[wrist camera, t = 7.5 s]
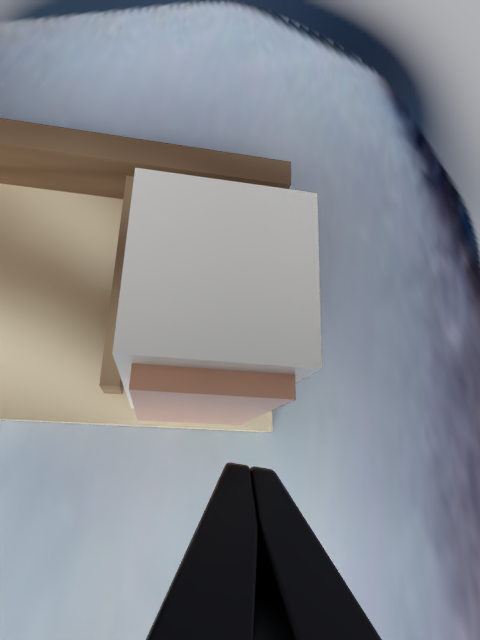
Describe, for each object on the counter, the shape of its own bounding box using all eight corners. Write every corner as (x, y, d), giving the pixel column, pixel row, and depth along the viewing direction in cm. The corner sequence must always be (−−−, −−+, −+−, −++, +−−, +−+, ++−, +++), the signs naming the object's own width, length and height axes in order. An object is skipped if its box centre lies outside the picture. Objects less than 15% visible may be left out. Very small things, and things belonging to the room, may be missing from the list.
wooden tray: (268, 432, 17) (292, 425, 14) (-353, 403, 13) (-487, 387, 11) (270, 205, 20) (290, 161, 17) (-237, 138, 16) (-317, 70, 14)
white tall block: (240, 428, 16) (322, 395, 8) (129, 423, 15) (108, 382, 8) (244, 312, 17) (317, 193, 10) (142, 303, 16) (134, 168, 9)
